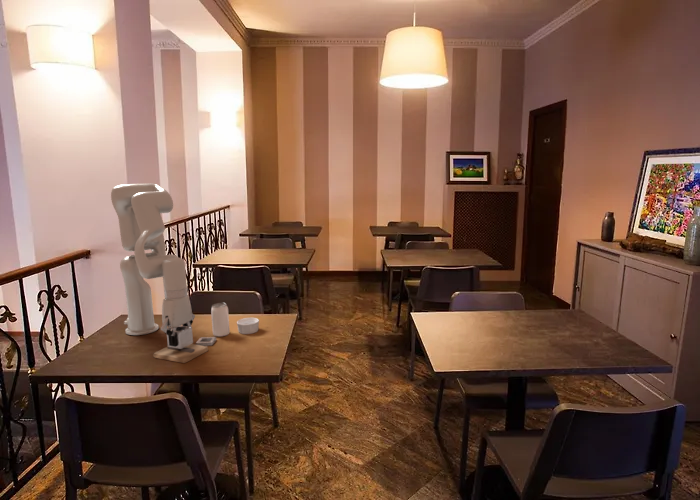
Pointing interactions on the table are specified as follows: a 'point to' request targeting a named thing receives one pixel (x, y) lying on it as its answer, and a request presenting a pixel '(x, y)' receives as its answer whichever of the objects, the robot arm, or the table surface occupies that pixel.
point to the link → (182, 337)
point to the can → (220, 319)
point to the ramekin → (248, 325)
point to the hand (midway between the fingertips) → (180, 342)
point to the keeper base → (181, 353)
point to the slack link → (211, 339)
